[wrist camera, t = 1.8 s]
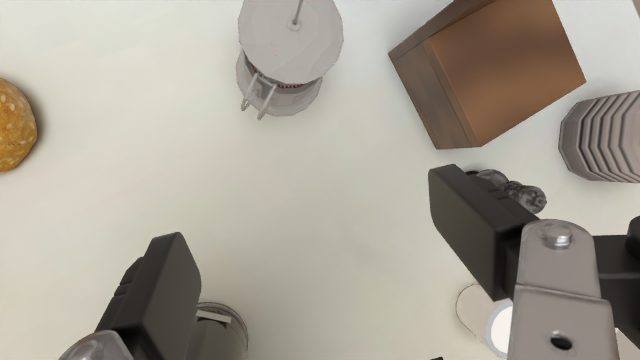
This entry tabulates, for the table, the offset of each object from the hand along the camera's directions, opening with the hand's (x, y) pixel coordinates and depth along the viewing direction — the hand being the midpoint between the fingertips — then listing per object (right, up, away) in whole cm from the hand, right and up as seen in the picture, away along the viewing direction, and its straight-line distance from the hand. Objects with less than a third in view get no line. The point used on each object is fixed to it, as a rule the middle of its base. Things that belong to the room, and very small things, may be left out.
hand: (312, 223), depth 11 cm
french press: (-5, +13, +30) cm, 33 cm away
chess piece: (+20, 0, +35) cm, 40 cm away
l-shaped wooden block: (+18, +14, +33) cm, 40 cm away
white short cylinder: (+21, -15, +36) cm, 44 cm away
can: (+37, +7, +38) cm, 54 cm away
